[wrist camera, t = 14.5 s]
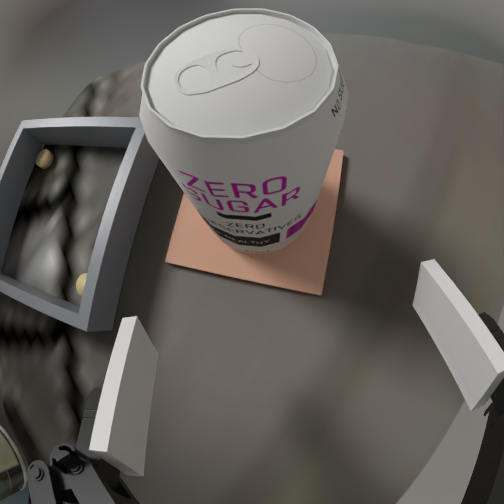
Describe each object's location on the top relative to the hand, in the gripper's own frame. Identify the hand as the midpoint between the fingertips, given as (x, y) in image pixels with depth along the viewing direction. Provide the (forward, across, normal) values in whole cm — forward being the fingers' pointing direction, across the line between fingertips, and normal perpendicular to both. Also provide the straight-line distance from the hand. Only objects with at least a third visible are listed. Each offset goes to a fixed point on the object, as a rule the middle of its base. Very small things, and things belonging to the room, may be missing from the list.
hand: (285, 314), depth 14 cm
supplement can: (+12, 0, 0) cm, 12 cm away
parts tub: (+15, -18, +2) cm, 24 cm away
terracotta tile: (+13, 0, -1) cm, 13 cm away
